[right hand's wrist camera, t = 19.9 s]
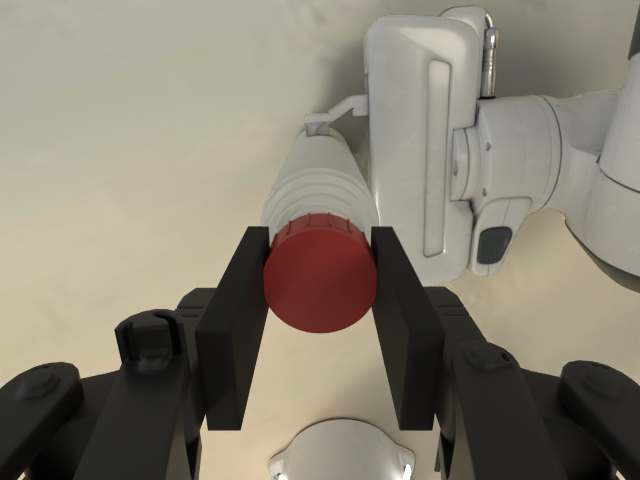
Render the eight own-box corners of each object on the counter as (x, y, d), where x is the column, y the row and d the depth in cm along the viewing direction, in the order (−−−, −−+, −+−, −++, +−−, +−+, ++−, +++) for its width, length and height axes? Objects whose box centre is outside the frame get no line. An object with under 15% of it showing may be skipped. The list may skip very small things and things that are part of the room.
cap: (246, 272, 15) (237, 296, 13) (307, 188, 13) (305, 203, 12) (331, 325, 15) (332, 353, 14) (395, 250, 14) (404, 272, 13)
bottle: (361, 149, 36) (433, 260, 13) (325, 195, 38) (335, 366, 15) (313, 112, 35) (301, 164, 12) (279, 162, 37) (210, 290, 14)
